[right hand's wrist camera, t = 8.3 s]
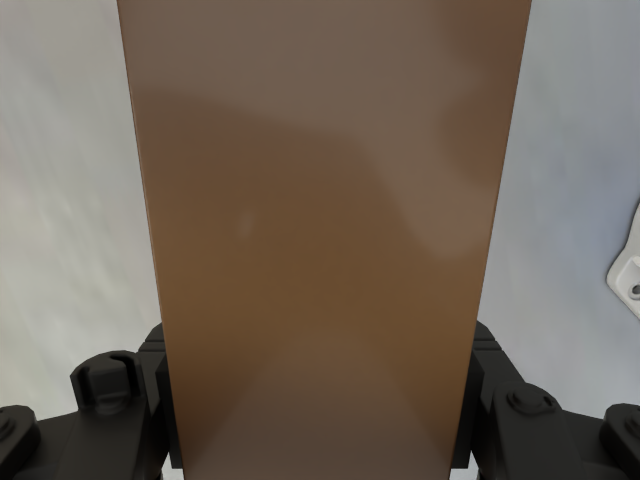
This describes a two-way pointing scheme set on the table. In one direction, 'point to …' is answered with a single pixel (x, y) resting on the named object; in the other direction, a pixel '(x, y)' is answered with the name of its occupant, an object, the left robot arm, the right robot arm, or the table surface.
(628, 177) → the table surface
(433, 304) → the bar
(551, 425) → the right robot arm
